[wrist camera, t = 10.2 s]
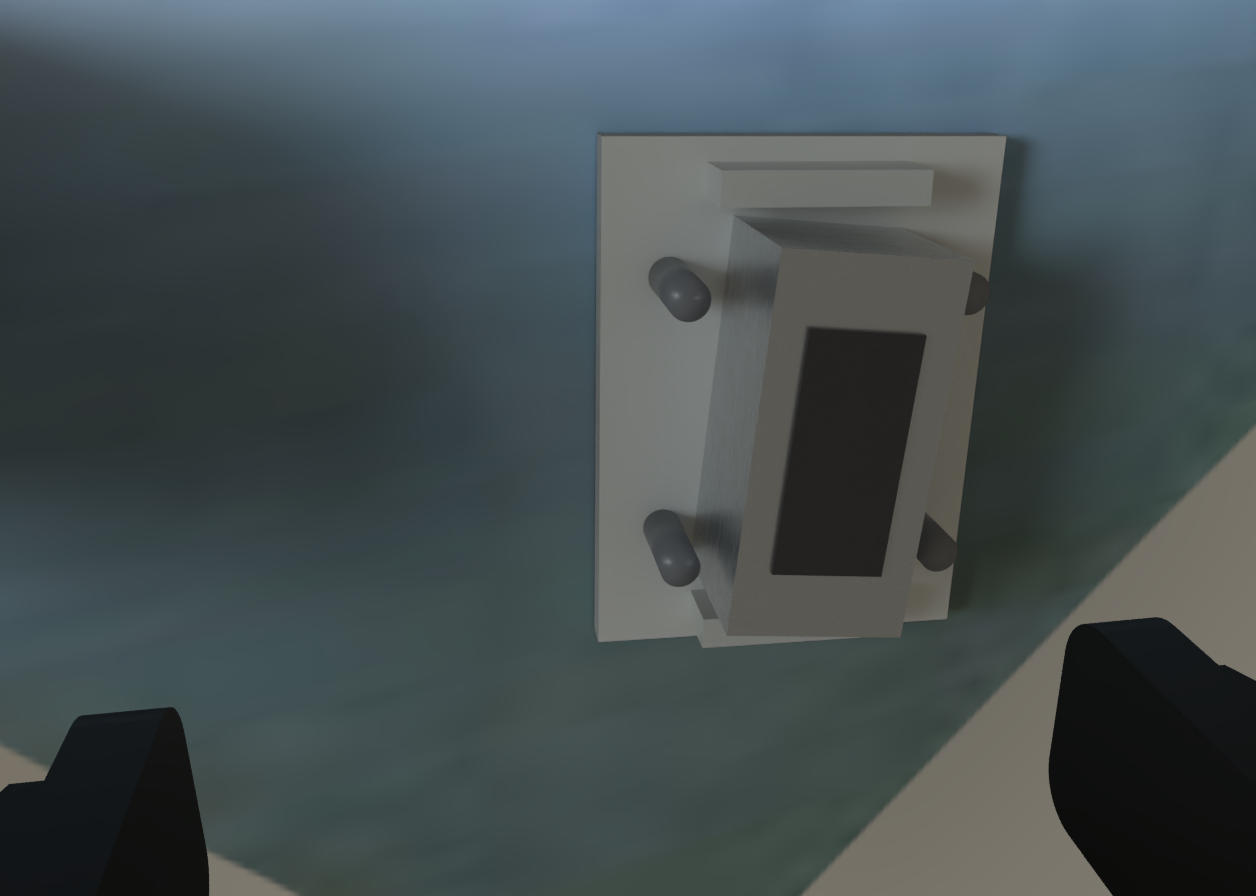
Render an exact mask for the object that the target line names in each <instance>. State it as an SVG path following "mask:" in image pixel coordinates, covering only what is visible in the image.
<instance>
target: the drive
mask: <svg viewBox="0 0 1256 896" xmlns="http://www.w3.org/2000/svg"><path fill="white" fill-rule="evenodd" d="M974 263H975V261H973V260H971V259H969V258H967V257H965V256H962V255H960V254H958V253H956V252H954V251H952V250H949V249H947V248H945V247H943V246H941V245H938V244H936V243H934V242H932V241H930V240H928V239H925V238H923V237H921V236H919V235H917V234H914V233H912V232H910V231H908V230H906V229H903V228H895V227H882V226H868V225H855V224H842V223H829V222H816V221H803V220H789V219H776V218H763V217H750V216H737V215H734V219H733V226H732V234H731V242H730V250H729V258H728V266H727V274H726V282H725V290H724V297H723V305H722V313H721V321H720V329H719V337H718V345H717V353H716V361H715V368H714V376H713V384H712V392H711V400H710V408H709V416H708V424H707V432H706V440H705V447H704V455H703V463H702V471H701V479H700V487H699V495H698V503H697V511H696V518H695V526H694V534H693V542H692V547H693V549H694V551H695V553H696V555H697V557H698V559H699V561H700V566H701V568H700V573H699V575H698V576H699V578H700V580H701V582H702V585H703V587H704V589H705V591H706V593H707V595H708V597H709V599H710V601H711V604H712V606H713V608H714V610H715V612H716V614H717V616H718V618H719V620H720V623H721V625H722V627H723V629H724V631H725V633H726V635H727V636H794V637H901V632H902V627H903V622H904V617H905V612H906V607H907V602H908V597H909V592H910V587H911V582H912V577H913V572H914V567H915V562H916V557H917V551H918V546H919V541H920V536H921V531H922V526H923V521H924V516H925V511H926V506H927V501H928V496H929V491H930V486H931V481H932V476H933V471H934V466H935V461H936V455H937V450H938V445H939V440H940V435H941V430H942V425H943V420H944V415H945V410H946V405H947V400H948V395H949V390H950V385H951V380H952V375H953V370H954V365H955V359H956V354H957V349H958V344H959V339H960V334H961V329H962V324H963V319H964V314H965V309H966V304H967V299H968V294H969V289H970V284H971V279H972V274H973V269H974Z"/></svg>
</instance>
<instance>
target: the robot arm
mask: <svg viewBox="0 0 1256 896" xmlns="http://www.w3.org/2000/svg"><path fill="white" fill-rule="evenodd" d="M1049 783H1050V789H1051V795H1052V799H1053V803H1054V806H1055V809H1056V812H1057V814H1058V816H1059V819H1060V821H1061V823H1062V825H1063V827H1064V829H1065V830H1066V832H1067V833H1068V835H1069V836H1070V837H1071V839H1072V840H1073V842H1074V843H1075V844H1076V846H1077V847H1078V849H1079V850H1080V851H1081V853H1082V854H1083V855H1084V857H1085V858H1086V859H1087V861H1088V862H1089V864H1090V865H1091V866H1092V868H1093V869H1094V871H1095V872H1096V873H1097V875H1098V876H1099V877H1100V879H1101V880H1102V882H1103V883H1104V884H1105V886H1106V887H1107V888H1108V890H1109V891H1110V892H1111V894H1112V895H1113V896H1256V681H1255V680H1253V679H1251V678H1249V677H1247V676H1245V675H1243V674H1241V673H1239V672H1238V671H1236V670H1234V669H1232V668H1230V667H1228V666H1226V665H1218V664H1217V663H1215V662H1214V661H1213V660H1212V659H1211V658H1210V657H1209V656H1208V655H1206V654H1205V653H1204V652H1203V651H1202V650H1201V649H1200V648H1199V647H1198V646H1196V645H1195V644H1194V643H1193V642H1192V641H1191V640H1190V639H1189V638H1187V637H1186V636H1185V635H1184V634H1183V633H1182V632H1181V631H1180V630H1178V629H1177V628H1176V627H1175V626H1174V625H1173V624H1171V623H1170V622H1169V621H1167V620H1165V619H1163V618H1158V617H1154V618H1144V619H1132V620H1122V621H1111V622H1100V623H1090V624H1082V625H1079V626H1077V627H1076V628H1075V629H1074V630H1073V631H1072V633H1071V634H1070V636H1069V639H1068V642H1067V645H1066V650H1065V656H1064V663H1063V670H1062V676H1061V683H1060V689H1059V697H1058V703H1057V710H1056V717H1055V724H1054V730H1053V737H1052V744H1051V750H1050V757H1049ZM0 896H209V867H208V856H207V850H206V844H205V839H204V833H203V828H202V823H201V818H200V812H199V807H198V802H197V796H196V791H195V786H194V781H193V775H192V770H191V765H190V760H189V754H188V749H187V744H186V738H185V733H184V729H183V725H182V721H181V718H180V716H179V714H178V712H177V711H176V709H174V708H173V707H167V708H157V709H146V710H135V711H125V712H114V713H103V714H93V715H82V716H79V717H78V718H77V719H76V720H75V721H74V722H73V724H72V725H71V727H70V729H69V731H68V733H67V735H66V737H65V739H64V741H63V743H62V745H61V747H60V749H59V752H58V754H57V756H56V758H55V760H54V762H53V764H52V766H51V768H50V770H49V772H48V774H47V776H46V778H45V780H44V781H36V782H25V783H16V784H9V785H8V786H6V787H5V788H4V789H3V790H2V791H1V792H0Z"/></svg>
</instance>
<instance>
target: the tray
mask: <svg viewBox="0 0 1256 896" xmlns="http://www.w3.org/2000/svg"><path fill="white" fill-rule="evenodd" d="M1005 144H1006V136H1003V135H998V134H994V133H597V238H596V429H595V619H594V627H595V631H596V635H597V639H598V642H608V641H623V640H638V639H653V638H668V637H683V636H697V637H698V639H699V641H700V644H701V646H702V648H711V647H726V646H740V645H755V644H770V643H784V642H799V641H814V640H829V639H843V638H858V637H794V636H727V635H726V633H725V631H724V629H723V627H722V625H721V623H720V620H719V618H718V616H717V614H716V612H715V610H714V608H713V606H712V604H711V601H710V599H709V597H708V595H707V593H706V591H705V589H704V587H703V585H702V582H701V580H700V578H699V576H698V575H699V573H700V568H701V566H700V561H699V559H698V557H697V555H696V553H695V551H694V549H693V547H692V542H693V534H694V526H695V518H696V511H697V503H698V495H699V487H700V479H701V471H702V463H703V455H704V447H705V440H706V432H707V424H708V416H709V408H710V400H711V392H712V384H713V376H714V368H715V361H716V353H717V345H718V337H719V329H720V321H721V313H722V305H723V297H724V290H725V282H726V274H727V266H728V258H729V250H730V242H731V234H732V226H733V219H734V215H737V216H750V217H763V218H776V219H789V220H803V221H816V222H829V223H842V224H855V225H868V226H882V227H895V228H903V229H906V230H908V231H910V232H912V233H914V234H917V235H919V236H921V237H923V238H925V239H928V240H930V241H932V242H934V243H936V244H938V245H941V246H943V247H945V248H947V249H949V250H952V251H954V252H956V253H958V254H960V255H962V256H965V257H967V258H969V259H971V260H973V261H975V263H974V269H973V274H972V279H971V284H970V289H969V294H968V299H967V304H966V309H965V314H964V319H963V324H962V329H961V334H960V339H959V344H958V349H957V354H956V359H955V365H954V370H953V375H952V380H951V385H950V390H949V395H948V400H947V405H946V410H945V415H944V420H943V425H942V430H941V435H940V440H939V445H938V450H937V455H936V461H935V466H934V471H933V476H932V481H931V486H930V491H929V496H928V501H927V506H926V511H925V516H924V521H923V526H922V531H921V536H920V541H919V546H918V551H917V557H916V562H915V567H914V572H913V577H912V582H911V587H910V592H909V597H908V602H907V607H906V612H905V617H904V622H909V621H924V620H939V619H947V614H948V606H949V598H950V589H951V581H952V573H953V565H954V562H955V560H956V558H957V555H958V546H957V544H956V541H957V533H958V525H959V517H960V508H961V500H962V492H963V484H964V476H965V468H966V460H967V452H968V444H969V436H970V428H971V419H972V411H973V403H974V395H975V387H976V379H977V371H978V363H979V355H980V347H981V339H982V330H983V322H984V314H985V306H986V304H987V302H988V300H989V297H990V285H989V283H988V282H989V274H990V266H991V258H992V250H993V241H994V233H995V225H996V217H997V209H998V201H999V193H1000V185H1001V177H1002V169H1003V160H1004V152H1005Z"/></svg>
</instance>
